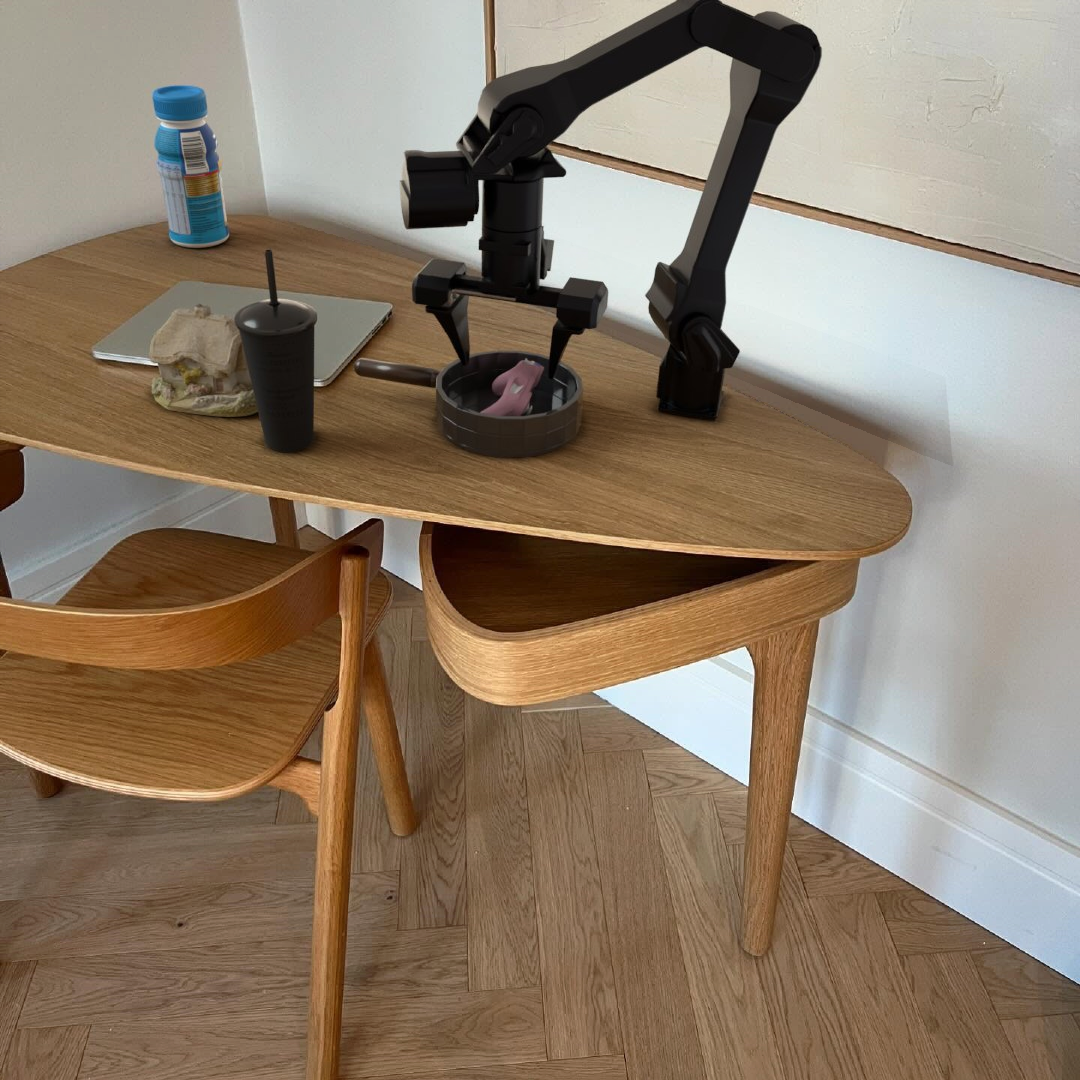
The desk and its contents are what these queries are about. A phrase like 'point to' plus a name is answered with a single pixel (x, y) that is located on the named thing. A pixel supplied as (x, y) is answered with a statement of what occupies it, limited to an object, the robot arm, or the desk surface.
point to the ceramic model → (201, 365)
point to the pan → (507, 436)
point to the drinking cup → (281, 365)
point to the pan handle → (396, 372)
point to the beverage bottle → (189, 168)
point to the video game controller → (515, 389)
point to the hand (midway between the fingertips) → (508, 370)
